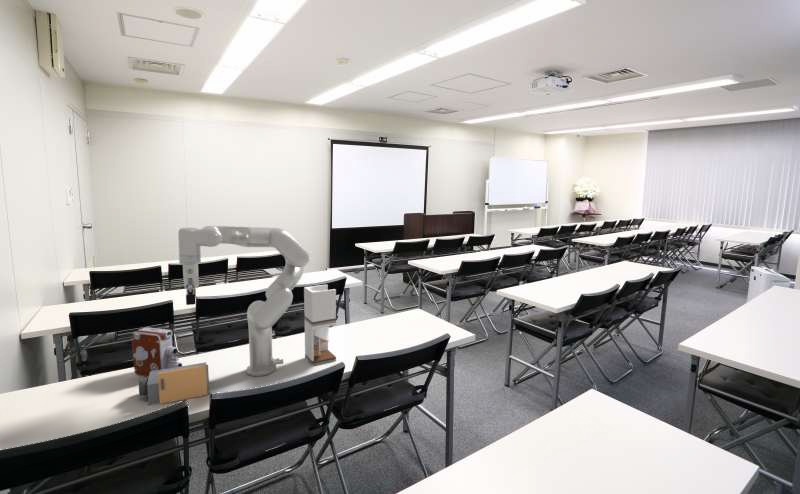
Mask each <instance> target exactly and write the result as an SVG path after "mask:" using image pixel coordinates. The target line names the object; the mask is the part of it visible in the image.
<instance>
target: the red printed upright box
mask: <svg viewBox="0 0 800 494" xmlns="http://www.w3.org/2000/svg"><path fill="white" fill-rule="evenodd" d="M172 336H173V330H171V329H167V328H158V327H149V326H146V327H145V326H144V327H143V328H138V330H135V331H134V332H132V333H131V345H132V346H131V347H132V358H133V369H134V374H135V375H136V376H140V377H147V378H149V374H150V371H156V370H162V369H168V368H174V367H180V366H183V364H182V362H179V359H180V358H179V356H176V355H177V354H178V348H177V347H176V346H173V337H172Z"/></svg>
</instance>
